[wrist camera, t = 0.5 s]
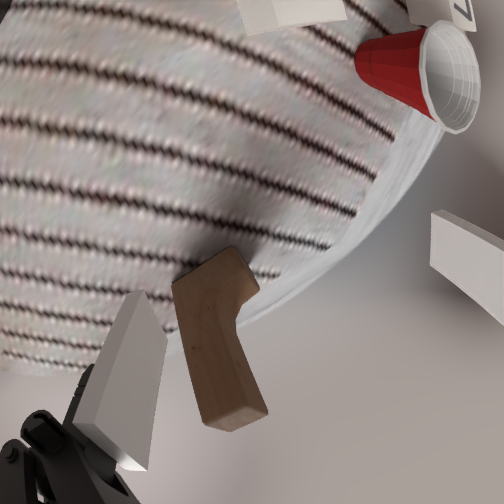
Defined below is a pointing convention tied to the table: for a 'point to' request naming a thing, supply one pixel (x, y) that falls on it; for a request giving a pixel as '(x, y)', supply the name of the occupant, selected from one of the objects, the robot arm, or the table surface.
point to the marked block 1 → (288, 13)
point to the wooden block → (218, 340)
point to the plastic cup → (426, 72)
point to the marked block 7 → (442, 12)
